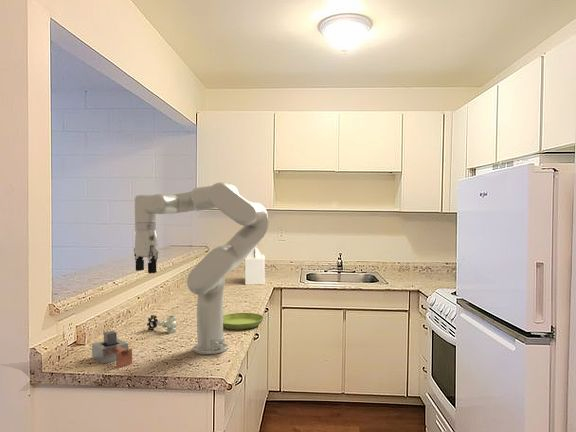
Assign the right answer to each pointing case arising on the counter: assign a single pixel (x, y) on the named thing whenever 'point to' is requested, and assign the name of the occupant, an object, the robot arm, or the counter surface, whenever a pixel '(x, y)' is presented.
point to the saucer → (242, 320)
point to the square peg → (110, 338)
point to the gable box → (255, 267)
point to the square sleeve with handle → (112, 353)
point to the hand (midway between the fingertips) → (145, 271)
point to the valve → (163, 323)
